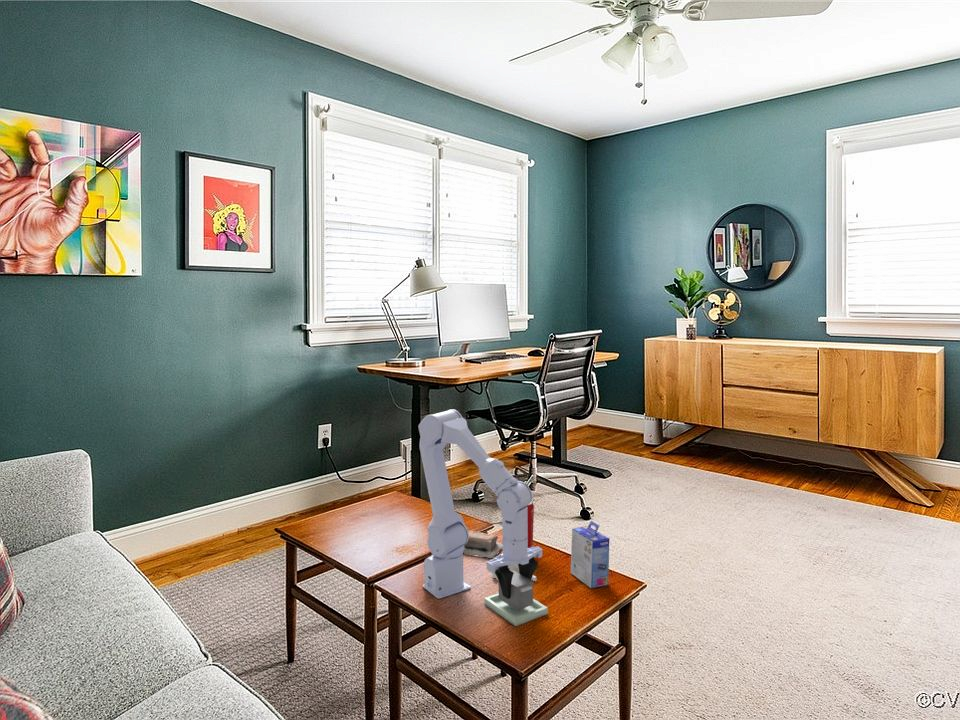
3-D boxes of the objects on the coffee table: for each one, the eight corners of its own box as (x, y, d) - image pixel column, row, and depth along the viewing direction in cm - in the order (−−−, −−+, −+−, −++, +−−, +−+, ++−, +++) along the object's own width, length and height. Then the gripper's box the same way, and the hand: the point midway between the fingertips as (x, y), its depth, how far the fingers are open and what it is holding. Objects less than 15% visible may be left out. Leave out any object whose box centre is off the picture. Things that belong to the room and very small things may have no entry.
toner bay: (510, 589, 149) (510, 579, 149) (492, 577, 156) (491, 568, 156) (537, 580, 154) (537, 570, 154) (518, 569, 161) (518, 559, 160)
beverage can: (521, 545, 176) (521, 495, 174) (538, 552, 171) (538, 500, 170) (507, 551, 172) (507, 500, 170) (524, 558, 167) (524, 505, 166)
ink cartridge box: (610, 585, 151) (610, 529, 150) (591, 589, 149) (591, 532, 147) (588, 569, 160) (588, 516, 159) (570, 573, 158) (570, 519, 156)
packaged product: (434, 534, 174) (450, 522, 183) (434, 550, 174) (451, 538, 183) (492, 544, 166) (506, 531, 175) (492, 561, 167) (506, 547, 176)
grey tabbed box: (519, 612, 135) (519, 588, 134) (498, 598, 141) (498, 575, 141) (535, 606, 137) (535, 582, 137) (514, 592, 144) (514, 570, 143)
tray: (515, 626, 132) (515, 619, 132) (484, 604, 142) (484, 597, 142) (547, 613, 138) (547, 607, 137) (515, 593, 147) (515, 587, 147)
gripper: (499, 550, 131) (500, 610, 132) (550, 534, 139) (550, 591, 140) (481, 539, 137) (481, 597, 138) (531, 525, 145) (531, 580, 146)
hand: (515, 593), depth 140 cm, fingers closed on grey tabbed box, 5 cm apart
